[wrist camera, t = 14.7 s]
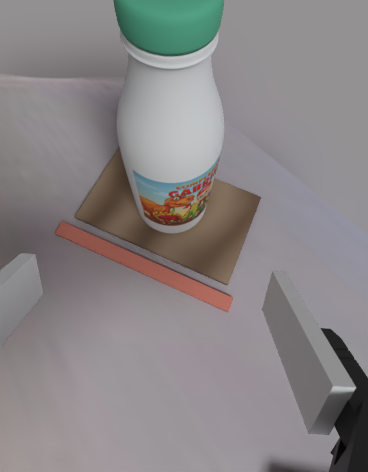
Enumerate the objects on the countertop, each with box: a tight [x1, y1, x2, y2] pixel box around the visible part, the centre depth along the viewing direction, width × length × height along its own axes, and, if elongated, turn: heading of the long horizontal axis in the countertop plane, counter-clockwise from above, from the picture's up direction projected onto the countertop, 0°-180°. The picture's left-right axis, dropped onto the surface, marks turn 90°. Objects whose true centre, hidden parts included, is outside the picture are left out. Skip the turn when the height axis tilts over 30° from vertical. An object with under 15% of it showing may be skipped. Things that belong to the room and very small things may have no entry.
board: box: [75, 147, 261, 285], centre depth 29 cm, size 18×11×1 cm, turn 66°
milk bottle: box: [114, 0, 224, 233], centre depth 19 cm, size 8×8×20 cm
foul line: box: [55, 221, 233, 312], centre depth 27 cm, size 20×2×1 cm, turn 66°
